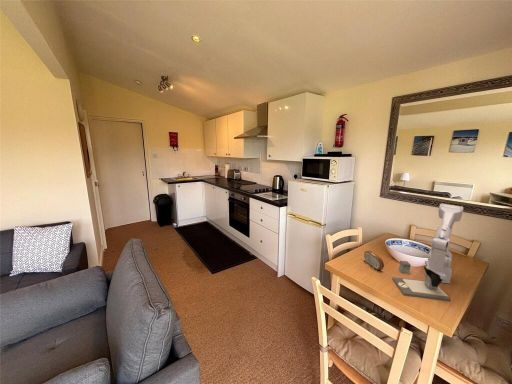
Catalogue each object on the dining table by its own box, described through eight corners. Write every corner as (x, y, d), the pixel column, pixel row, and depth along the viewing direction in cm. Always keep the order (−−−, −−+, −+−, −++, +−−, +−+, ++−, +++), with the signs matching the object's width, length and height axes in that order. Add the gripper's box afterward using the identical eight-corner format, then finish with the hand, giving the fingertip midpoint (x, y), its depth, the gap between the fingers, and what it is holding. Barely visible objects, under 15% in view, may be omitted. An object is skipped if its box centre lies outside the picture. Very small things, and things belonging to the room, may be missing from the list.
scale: (433, 283, 120) (433, 280, 119) (450, 301, 106) (450, 297, 106) (392, 279, 124) (392, 276, 123) (403, 295, 110) (404, 292, 110)
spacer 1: (405, 270, 133) (407, 261, 132) (409, 273, 129) (410, 264, 128) (398, 269, 134) (400, 260, 132) (401, 273, 130) (403, 264, 129)
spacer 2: (432, 285, 115) (434, 275, 114) (437, 289, 111) (439, 279, 110) (424, 283, 116) (426, 274, 115) (428, 288, 112) (430, 278, 111)
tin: (383, 272, 130) (385, 259, 129) (378, 272, 130) (380, 260, 128) (366, 259, 145) (368, 248, 143) (362, 260, 144) (364, 248, 143)
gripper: (420, 252, 118) (416, 274, 121) (436, 267, 104) (431, 291, 107) (434, 254, 117) (430, 276, 120) (453, 268, 103) (447, 293, 106)
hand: (431, 283), depth 113 cm, fingers open, 4 cm apart
